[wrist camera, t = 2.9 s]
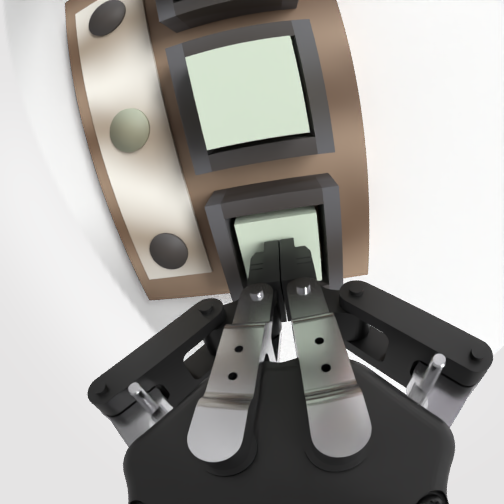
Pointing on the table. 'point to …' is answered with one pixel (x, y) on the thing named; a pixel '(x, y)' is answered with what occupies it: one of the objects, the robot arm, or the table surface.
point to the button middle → (248, 92)
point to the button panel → (219, 159)
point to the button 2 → (279, 232)
